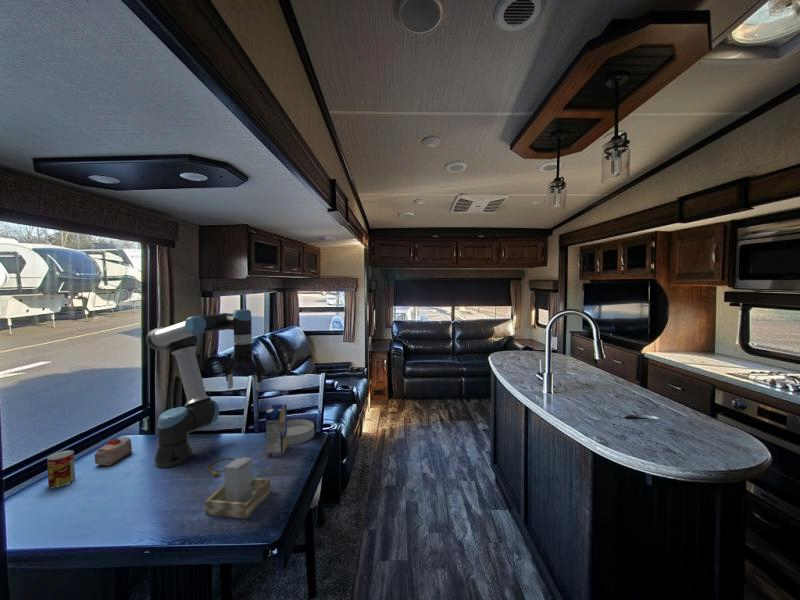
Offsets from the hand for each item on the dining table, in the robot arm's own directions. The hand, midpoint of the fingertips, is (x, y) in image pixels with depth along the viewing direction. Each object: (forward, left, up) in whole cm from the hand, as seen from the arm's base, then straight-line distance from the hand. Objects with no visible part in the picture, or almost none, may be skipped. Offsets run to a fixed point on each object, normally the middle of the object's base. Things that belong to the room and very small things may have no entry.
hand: (244, 388), depth 157 cm
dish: (+10, +30, -35) cm, 47 cm away
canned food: (-67, -25, -35) cm, 80 cm away
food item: (-63, -6, -35) cm, 73 cm away
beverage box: (+10, +11, -35) cm, 38 cm away
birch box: (+15, -28, -35) cm, 47 cm away
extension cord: (-8, -6, -36) cm, 37 cm away
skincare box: (+15, -28, -34) cm, 46 cm away
